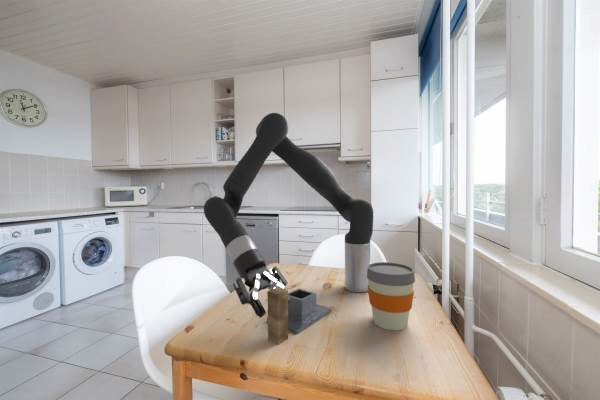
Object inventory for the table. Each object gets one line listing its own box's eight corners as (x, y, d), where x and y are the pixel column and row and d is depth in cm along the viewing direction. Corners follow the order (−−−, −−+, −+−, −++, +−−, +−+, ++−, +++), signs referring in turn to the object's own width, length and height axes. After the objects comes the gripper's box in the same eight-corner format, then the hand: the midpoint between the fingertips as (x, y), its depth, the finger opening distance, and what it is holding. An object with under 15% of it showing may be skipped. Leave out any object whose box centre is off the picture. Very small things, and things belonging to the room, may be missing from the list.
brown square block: (278, 333, 68) (277, 287, 68) (288, 338, 66) (287, 290, 65) (268, 339, 65) (267, 291, 65) (278, 344, 63) (277, 294, 63)
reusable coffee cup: (359, 325, 72) (359, 270, 72) (375, 308, 82) (375, 259, 82) (409, 339, 65) (409, 278, 64) (419, 318, 75) (419, 266, 75)
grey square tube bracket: (302, 302, 87) (302, 282, 87) (331, 311, 80) (331, 290, 80) (267, 321, 75) (266, 298, 75) (297, 334, 68) (297, 308, 68)
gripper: (229, 252, 65) (261, 312, 58) (271, 243, 76) (302, 292, 69) (217, 270, 69) (246, 328, 62) (258, 259, 80) (287, 307, 73)
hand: (276, 309), depth 66 cm, fingers open, 8 cm apart
